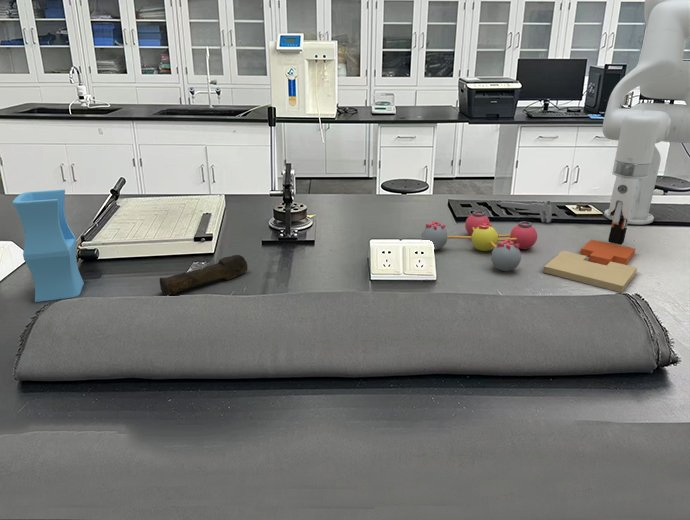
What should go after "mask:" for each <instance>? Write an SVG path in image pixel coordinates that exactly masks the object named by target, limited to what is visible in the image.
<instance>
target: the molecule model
mask: <svg viewBox="0 0 690 520" xmlns="http://www.w3.org/2000/svg"><path fill="white" fill-rule="evenodd" d="M464 223H465V224H464V228H465V230H466V232H467V234H468V235H448V232H447V230H446V226H447V225H446V224H442V222H438V221H434V220H432V222H430V223H425V228H423V231H422V232H421V237H420V238H421V241H422V240H430V241H432V242H433V244H434V247H435V250H434V251H437V250H440V249H442V248H444V246H446V244H447V242H448V239H453V240H454V239H456V240H457V239H459V240H462V239H463V240H471V243H472V245H473V247H474V248H475V249H477V250H479V251H481V252H489V251H491V256H490V259H491V262H492V265H493V266H494V267H495V268H496V269H497V270H499V271H503V272H510V271H513V270H515V269H516V268H517V267H518V266H519V265H520V263H521V260H522V253H521V251H520V250H528V249H530V248H532V247H533V246H534V245H535V244H536V243H537V240H538V231H537V230H536V228H535V227H534V226H533V223H532V222H530V221H519V222H518V224H516V225H515V226H514V227H513V228H512V229H511V231H510V233H508V234H498V231H497V230H496V229H495V228H494V227H493V225H492V223H491V221H490V219H489V217H488V216H487V215H486V212H485V211H481V210H475V211H473V212H472V214H470V215H468V217H467V218H466V220H465V222H464Z"/></svg>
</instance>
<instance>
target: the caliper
mask: <svg viewBox="0 0 690 520" xmlns="http://www.w3.org/2000/svg"><path fill="white" fill-rule="evenodd" d="M497 205H499V206H500V207H501V208H511V209H519V210H520V209H521V210H529V211H530V214H531V213H533V214H538V213H539V216H540V221H541V222H542V223H551V222H552V215H553V206H552V204H551V201H550V200H543V203H539V202H531V203H523V202H512V201H500V202H498V203H497Z"/></svg>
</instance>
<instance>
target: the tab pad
mask: <svg viewBox="0 0 690 520" xmlns="http://www.w3.org/2000/svg"><path fill="white" fill-rule="evenodd" d="M579 254H580V255H584V256H587V257H588V261H589V262H593V263H598V264H602V265H606V266H607V265H608V264H609V263H610V261H611V262H615V263H620V264H624V265H627V264H628V263H629V262H630V260H631V259H632V258H633V257H634V255H635V254H636V248H634V247H630V246H624V245H619V244H615V243H610V242H606V241H601V240H596V239H590V240H589V241H588V242H587V243H585V244H584V245H583V246H582V247H581V248H580V253H579Z"/></svg>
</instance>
